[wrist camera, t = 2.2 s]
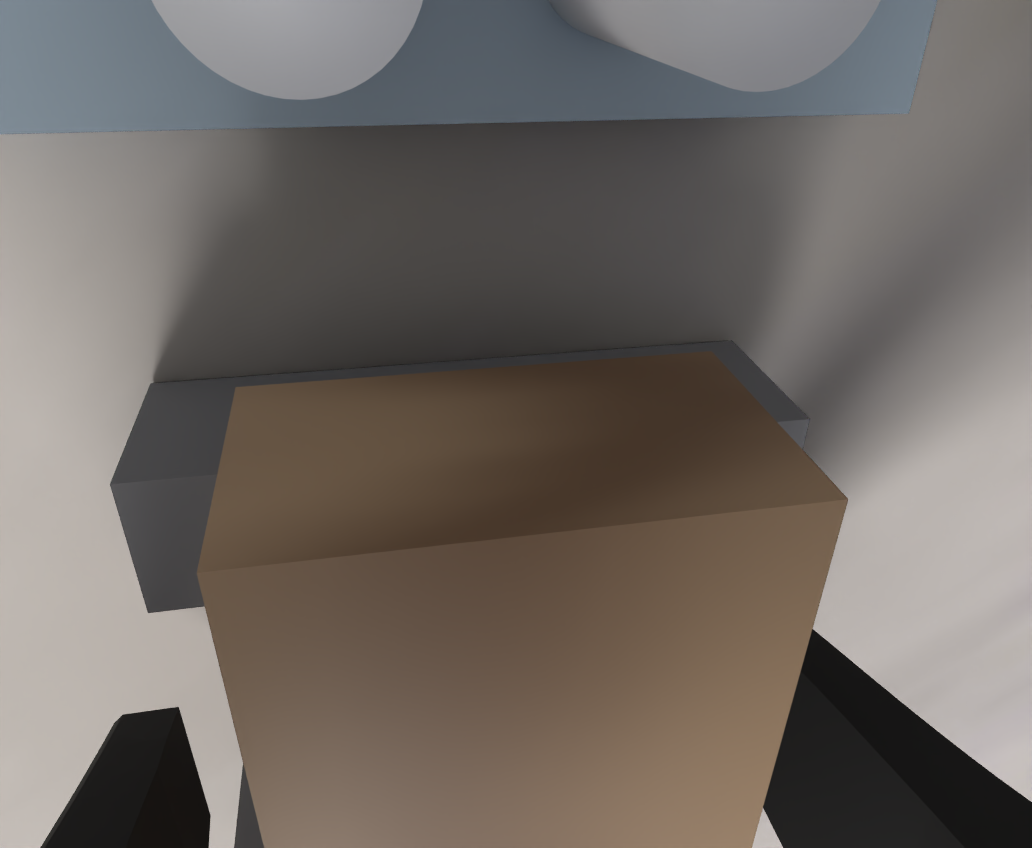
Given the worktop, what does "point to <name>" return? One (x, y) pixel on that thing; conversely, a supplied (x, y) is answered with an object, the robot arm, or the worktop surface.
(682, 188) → the worktop surface
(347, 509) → the shelf board
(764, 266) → the worktop surface
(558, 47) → the peg base
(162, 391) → the board rack
